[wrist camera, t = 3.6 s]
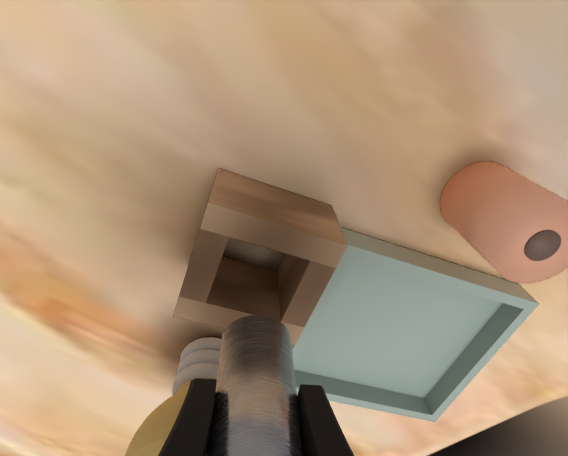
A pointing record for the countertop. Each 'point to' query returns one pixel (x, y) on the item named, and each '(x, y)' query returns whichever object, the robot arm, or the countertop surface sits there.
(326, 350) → the tray
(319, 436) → the robot arm
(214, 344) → the light bulb
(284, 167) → the countertop surface
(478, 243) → the terracotta round
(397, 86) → the countertop surface
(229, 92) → the countertop surface
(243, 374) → the cylinder
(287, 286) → the walnut block
